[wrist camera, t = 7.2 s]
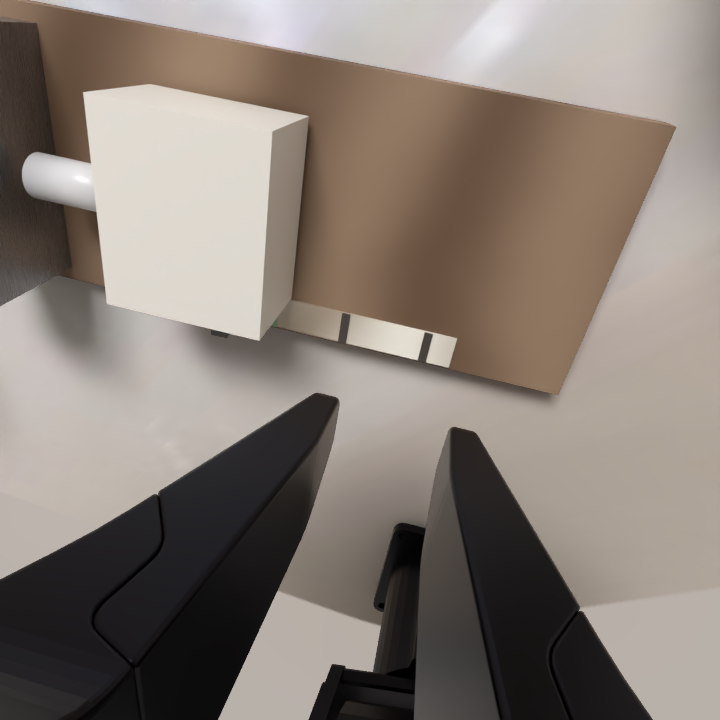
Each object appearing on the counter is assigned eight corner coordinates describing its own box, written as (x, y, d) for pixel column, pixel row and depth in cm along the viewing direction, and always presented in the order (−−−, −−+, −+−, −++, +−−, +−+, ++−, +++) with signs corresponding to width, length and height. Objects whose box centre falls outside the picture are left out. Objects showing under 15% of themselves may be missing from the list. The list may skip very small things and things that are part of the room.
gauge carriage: (308, 116, 16) (272, 130, 13) (286, 346, 20) (255, 393, 17) (59, 65, 16) (-25, 70, 14) (89, 298, 21) (30, 336, 18)
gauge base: (665, 122, 15) (677, 128, 14) (554, 380, 20) (558, 397, 19) (-35, -13, 17) (-67, -16, 16) (17, 252, 22) (-4, 262, 21)
